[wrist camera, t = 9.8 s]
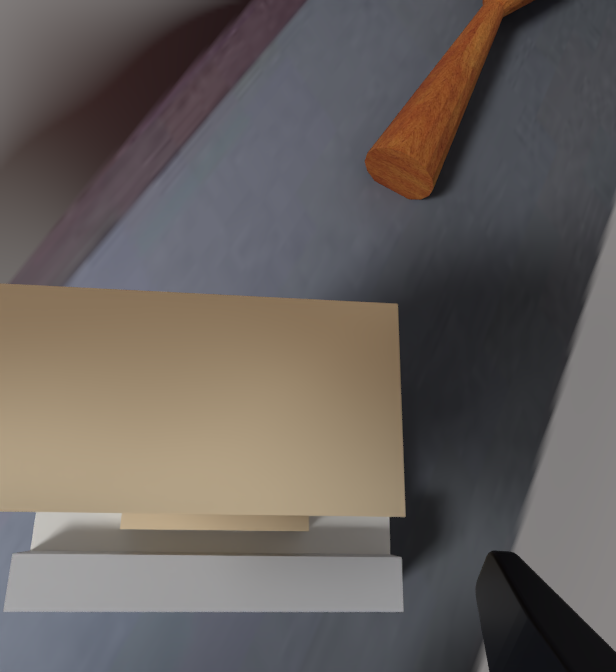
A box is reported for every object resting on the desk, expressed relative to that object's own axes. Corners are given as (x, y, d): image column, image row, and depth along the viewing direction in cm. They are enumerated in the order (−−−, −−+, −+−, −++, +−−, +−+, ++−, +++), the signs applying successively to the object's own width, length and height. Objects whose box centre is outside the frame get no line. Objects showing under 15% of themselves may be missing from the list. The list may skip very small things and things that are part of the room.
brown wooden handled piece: (335, 104, 23) (530, -203, 28) (341, 187, 29) (502, -79, 33) (473, 157, 22) (654, -176, 26) (451, 234, 27) (603, -52, 32)
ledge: (378, 596, 21) (403, 612, 18) (43, 595, 20) (3, 611, 17) (374, 367, 24) (394, 343, 20) (77, 354, 23) (49, 327, 19)
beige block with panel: (305, 530, 20) (407, 557, 7) (127, 528, 19) (-86, 553, 7) (306, 415, 21) (396, 272, 9) (139, 410, 20) (-24, 248, 8)
